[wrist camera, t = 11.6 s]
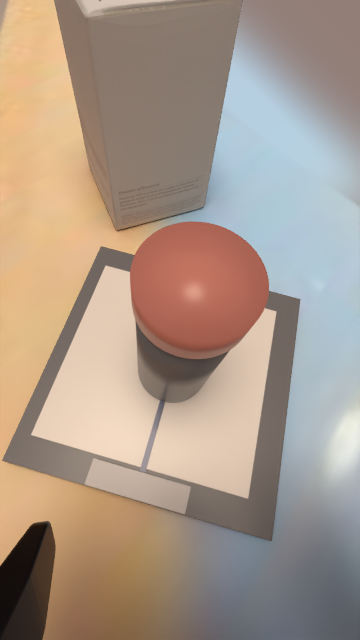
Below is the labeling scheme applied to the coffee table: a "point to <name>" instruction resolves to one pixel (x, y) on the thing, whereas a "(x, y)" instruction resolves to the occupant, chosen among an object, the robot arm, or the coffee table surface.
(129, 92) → the supplement box
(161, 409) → the grey framed board
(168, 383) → the ball
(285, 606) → the coffee table surface
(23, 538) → the robot arm
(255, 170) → the coffee table surface
